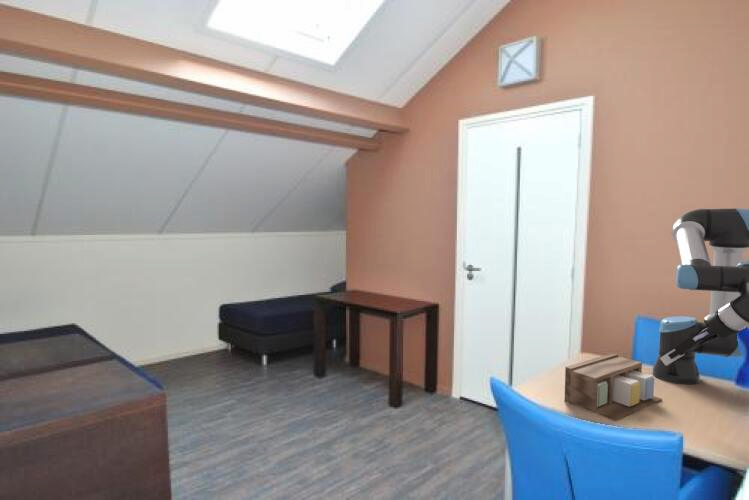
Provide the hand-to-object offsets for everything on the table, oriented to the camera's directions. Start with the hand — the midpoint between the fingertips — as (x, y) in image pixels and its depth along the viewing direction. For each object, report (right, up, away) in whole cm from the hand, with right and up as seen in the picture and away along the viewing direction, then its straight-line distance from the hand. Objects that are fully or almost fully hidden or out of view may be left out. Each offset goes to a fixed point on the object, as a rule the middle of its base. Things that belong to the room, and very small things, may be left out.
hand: (663, 361), depth 145 cm
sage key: (-21, -15, +5) cm, 26 cm away
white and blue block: (-3, -14, +10) cm, 17 cm away
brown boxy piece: (-12, -15, +7) cm, 21 cm away
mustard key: (-10, -14, +5) cm, 18 cm away
